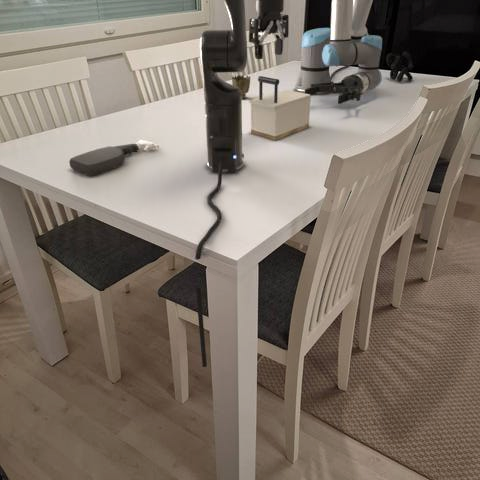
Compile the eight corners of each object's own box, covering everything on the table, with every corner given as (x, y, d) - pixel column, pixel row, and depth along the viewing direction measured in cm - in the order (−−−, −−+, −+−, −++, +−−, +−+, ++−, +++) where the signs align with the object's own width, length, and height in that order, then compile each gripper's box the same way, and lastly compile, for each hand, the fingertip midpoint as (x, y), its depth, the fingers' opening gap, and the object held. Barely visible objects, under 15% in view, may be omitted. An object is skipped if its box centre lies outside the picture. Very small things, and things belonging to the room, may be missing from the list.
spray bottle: (67, 168, 120) (139, 144, 136) (91, 178, 114) (163, 151, 130) (65, 157, 118) (137, 134, 134) (89, 167, 112) (162, 142, 128)
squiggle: (400, 92, 202) (376, 71, 205) (417, 76, 202) (392, 56, 205) (405, 81, 191) (380, 59, 194) (423, 64, 191) (397, 42, 194)
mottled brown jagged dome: (228, 98, 178) (228, 78, 173) (237, 94, 183) (237, 74, 179) (245, 101, 175) (245, 79, 170) (253, 96, 180) (253, 75, 176)
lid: (274, 109, 131) (275, 81, 126) (249, 103, 137) (249, 76, 133) (310, 97, 141) (312, 71, 137) (285, 92, 147) (286, 67, 143)
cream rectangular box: (275, 140, 136) (276, 108, 131) (250, 133, 142) (250, 102, 137) (308, 127, 146) (310, 97, 141) (284, 121, 152) (285, 92, 147)
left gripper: (276, -10, 126) (275, 52, 135) (241, -7, 118) (242, 58, 126) (297, -9, 122) (294, 54, 130) (262, -6, 113) (262, 62, 122)
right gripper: (383, 100, 160) (353, 114, 147) (324, 90, 174) (292, 101, 161) (386, 79, 156) (355, 90, 143) (326, 70, 171) (293, 80, 157)
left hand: (268, 56), depth 128 cm, fingers open, 8 cm apart
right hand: (321, 96), depth 152 cm, fingers open, 13 cm apart
